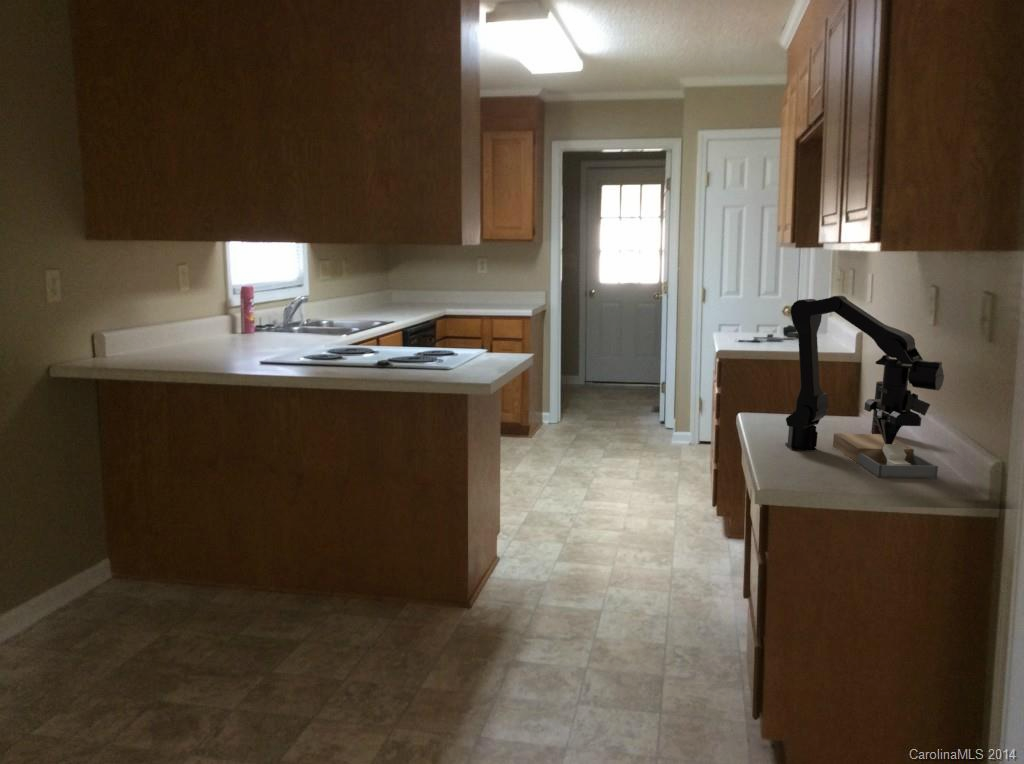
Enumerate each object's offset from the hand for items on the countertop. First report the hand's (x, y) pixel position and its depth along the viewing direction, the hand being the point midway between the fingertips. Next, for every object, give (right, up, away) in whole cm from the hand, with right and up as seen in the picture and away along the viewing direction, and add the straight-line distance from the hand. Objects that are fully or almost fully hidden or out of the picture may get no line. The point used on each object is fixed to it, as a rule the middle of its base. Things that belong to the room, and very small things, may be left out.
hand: (888, 446), depth 218 cm
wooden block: (0, -3, +10) cm, 10 cm away
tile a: (+1, -2, -1) cm, 3 cm away
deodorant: (+13, +1, +35) cm, 37 cm away
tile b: (0, -3, -5) cm, 6 cm away
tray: (0, -6, -4) cm, 7 cm away
